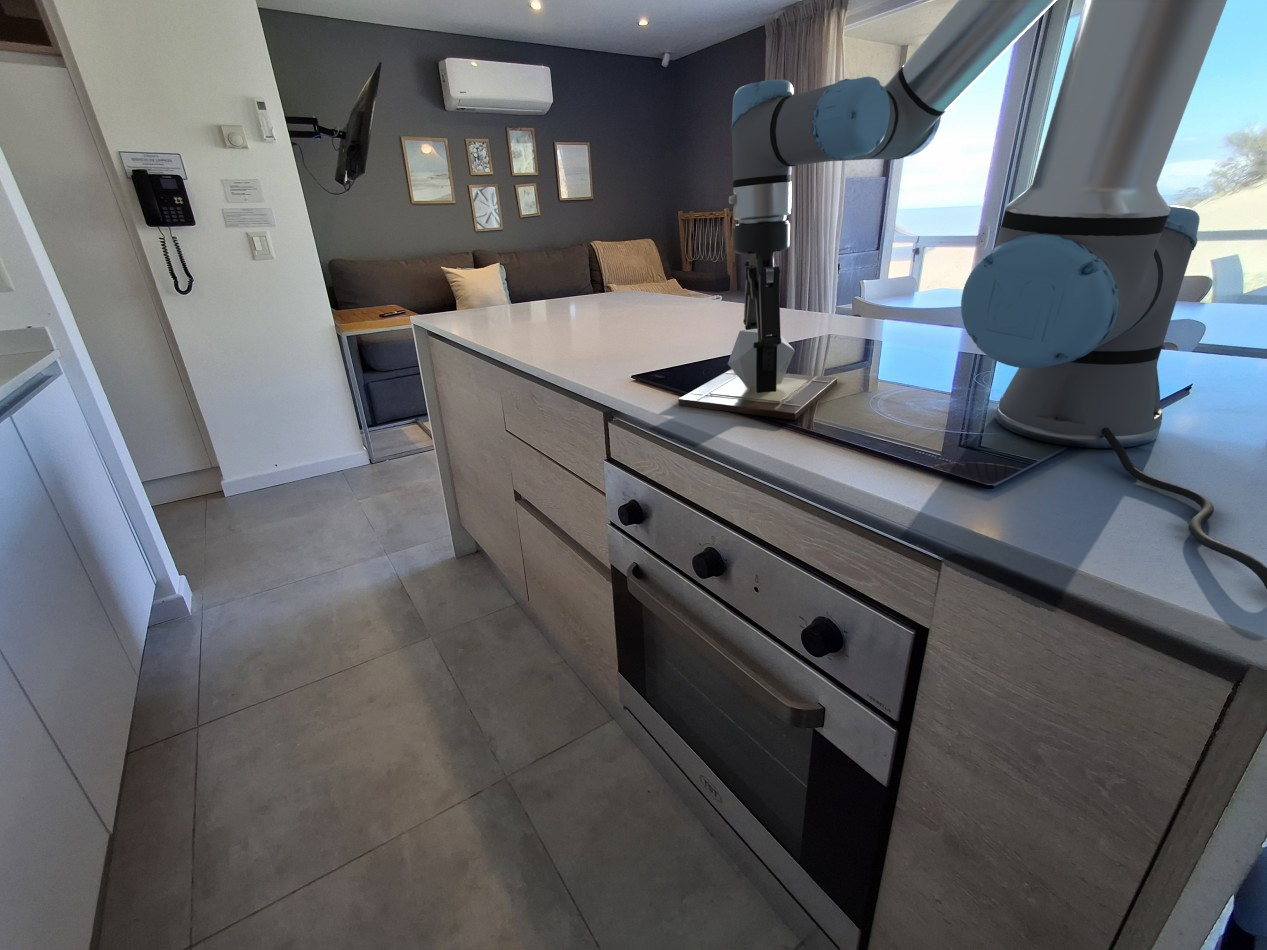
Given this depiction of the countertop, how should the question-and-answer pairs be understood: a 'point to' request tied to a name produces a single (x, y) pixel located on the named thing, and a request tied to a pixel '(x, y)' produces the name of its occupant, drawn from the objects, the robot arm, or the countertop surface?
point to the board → (760, 395)
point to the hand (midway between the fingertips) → (760, 381)
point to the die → (745, 357)
